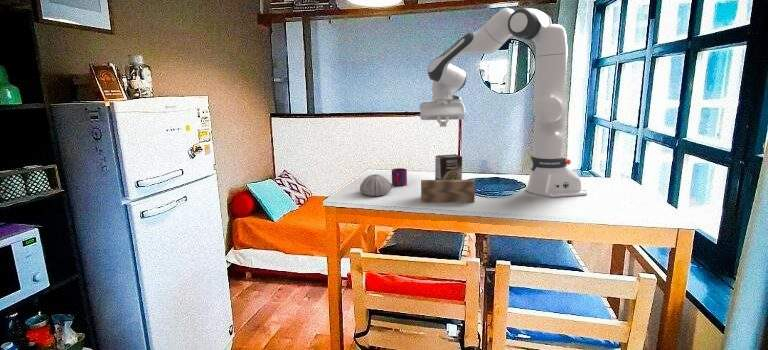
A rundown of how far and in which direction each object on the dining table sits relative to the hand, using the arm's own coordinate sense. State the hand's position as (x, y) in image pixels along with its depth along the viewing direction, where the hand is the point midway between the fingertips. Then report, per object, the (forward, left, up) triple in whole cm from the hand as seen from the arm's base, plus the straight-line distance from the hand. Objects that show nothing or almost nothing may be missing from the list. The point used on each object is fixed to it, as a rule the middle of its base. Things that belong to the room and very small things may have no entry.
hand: (443, 125), depth 176 cm
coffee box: (-1, +22, -26) cm, 34 cm away
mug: (+20, +6, -26) cm, 33 cm away
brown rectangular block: (0, +30, -25) cm, 39 cm away
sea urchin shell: (+29, +18, -26) cm, 43 cm away
